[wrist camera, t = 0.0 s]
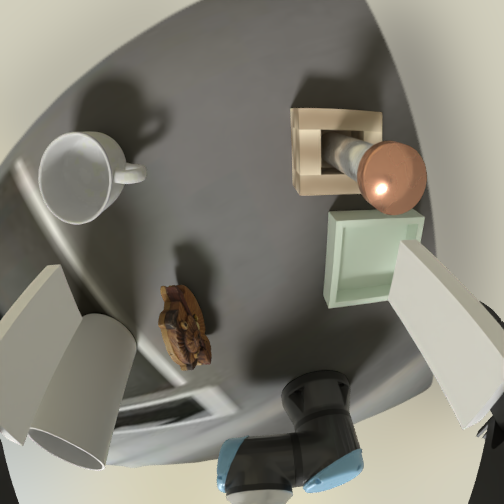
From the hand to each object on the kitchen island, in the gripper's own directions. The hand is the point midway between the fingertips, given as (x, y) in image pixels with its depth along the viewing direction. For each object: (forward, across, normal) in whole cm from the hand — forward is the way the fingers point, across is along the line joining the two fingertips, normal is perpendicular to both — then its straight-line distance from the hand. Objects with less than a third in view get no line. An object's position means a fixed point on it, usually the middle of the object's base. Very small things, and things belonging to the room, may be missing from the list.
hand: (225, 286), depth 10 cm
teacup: (+28, +17, -1) cm, 33 cm away
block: (+28, -12, -1) cm, 31 cm away
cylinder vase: (+28, +26, +29) cm, 49 cm away
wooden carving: (+28, +9, +23) cm, 38 cm away
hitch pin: (+27, -12, -1) cm, 30 cm away
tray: (+28, -19, +15) cm, 37 cm away
